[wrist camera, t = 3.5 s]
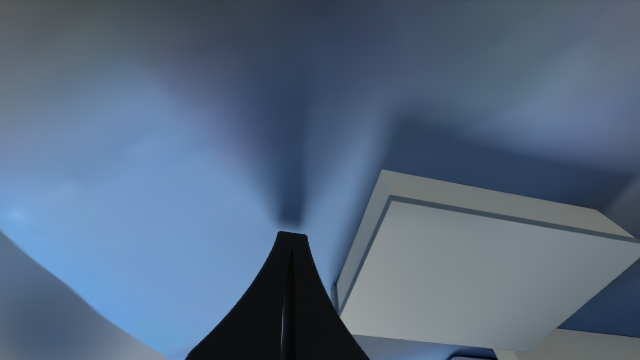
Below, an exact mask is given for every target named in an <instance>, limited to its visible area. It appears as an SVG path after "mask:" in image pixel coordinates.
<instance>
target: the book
mask: <svg viewBox="0 0 640 360" xmlns="http://www.w3.org/2000/svg"><path fill="white" fill-rule="evenodd" d="M639 258H640V239H638V238H635V237H633V236H632V235H630V234H629V233H628V232H626V231H625V230H624V229H622V228H621V227H619V226H618V225H617V224H615V223H614V222H613V221H611V220H610V219H608V218H607V217H606V216H604V215H603V214H601V213H600V212H599V211H597V210H594V209H589V208H584V207H578V206H573V205H568V204H563V203H557V202H552V201H547V200H541V199H536V198H531V197H525V196H520V195H515V194H510V193H504V192H499V191H494V190H488V189H483V188H478V187H472V186H467V185H462V184H456V183H451V182H446V181H441V180H435V179H430V178H425V177H419V176H414V175H409V174H403V173H398V172H393V171H388V170H381V173H380V175H379V178H378V180H377V183H376V185H375V188H374V190H373V193H372V195H371V198H370V201H369V203H368V206H367V208H366V211H365V213H364V216H363V218H362V221H361V224H360V226H359V229H358V231H357V234H356V236H355V239H354V241H353V244H352V246H351V249H350V252H349V254H348V257H347V259H346V262H345V264H344V267H343V269H342V272H341V275H340V277H339V280H338V282H337V285H333V286H332V289H331V302H332V304H333V306H334V308H335V310H336V311H337V313H338V315H339V316H340V318H341V320H342V321H343V323H344V324H345V326H346V327H347V329H348V330H349V332H350V333H351V334H356V335H366V336H376V337H385V338H395V339H405V340H414V341H424V342H434V343H444V344H453V345H463V346H473V347H482V348H492V349H502V350H511V351H521V352H529V351H530V350H531V349H532V348H533V347H534V346H536V345H537V344H538V343H539V342H540V341H542V340H543V339H544V338H545V337H546V336H548V335H549V334H550V333H551V332H552V331H553V330H555V329H556V328H557V327H558V326H559V325H561V324H562V323H563V322H564V321H565V320H566V319H568V318H569V317H570V316H571V315H572V314H574V313H575V312H576V311H577V310H578V309H580V308H581V307H582V306H583V305H584V304H585V303H587V302H588V301H589V300H590V299H591V298H593V297H594V296H595V295H596V294H597V293H599V292H600V291H601V290H602V289H603V288H604V287H606V286H607V285H608V284H609V283H610V282H612V281H613V280H614V279H615V278H616V277H618V276H619V275H620V274H621V273H622V272H623V271H625V270H626V269H627V268H628V267H629V266H631V265H632V264H633V263H634V262H635V261H636V260H638V259H639Z"/></svg>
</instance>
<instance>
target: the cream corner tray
mask: <svg viewBox="0 0 640 360" xmlns="http://www.w3.org/2000/svg"><path fill="white" fill-rule="evenodd" d="M493 350H494V352H495V354H496V356H497V358H498V360H640V338H635V337H626V336H617V335H609V334H600V333H592V332H583V331H575V330H566V329H557V328H556V329H555V330H553V331H552V332H551V333H550V334H549V335H548V336H546V337H545V338H544V339H543V340H542V341H540V342H539V343H538V344H537V345H536V346H534V347H533V348H532V349H531V350H530V351H529V352H521V351H511V350H502V349H493Z"/></svg>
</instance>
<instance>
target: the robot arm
mask: <svg viewBox="0 0 640 360" xmlns="http://www.w3.org/2000/svg"><path fill="white" fill-rule="evenodd" d="M282 316H283V334H282ZM281 334H282V345H281ZM185 360H370V359H369V358H368V356H367V355H366V354H365V353H364V351H363V350H362V349H361V347H360V346H359V345H358V343H357V342H356V341H355V339H354V338H353V336H352V335H351V333H350V332H349V330H348V329H347V327H346V326H345V324H344V323H343V321H342V320H341V318H340V316H339V315H338V313H337V311H336V310H335V308H334V306H333V304H332V302H331V300H330V298H329V296H328V294H327V292H326V290H325V288H324V286H323V284H322V281H321V279H320V277H319V274H318V271H317V269H316V266H315V263H314V260H313V257H312V254H311V251H310V247H309V243H308V237H307V236H306V235H305V234H298V233H291V232H284V231H279V232H278V233H277V238H276V241H275V243H274V246H273V248H272V250H271V252H270V254H269V256H268V258H267V260H266V262H265V263H264V265H263V267H262V268H261V270H260V272H259V273H258V275H257V276H256V278H255V279H254V281H253V282H252V284H251V285H250V287H249V288H248V289H247V291H246V292H245V293H244V295H243V296H242V297H241V299H240V300H239V301H238V302H237V303H236V305H235V306H234V307H233V308H232V310H231V311H230V312H229V313H228V314H227V315H226V316H225V317H224V318H223V320H222V321H221V322H220V323H219V324H218V325H217V326H216V327H215V328H214V329H213V330H212V331H211V332H210V333H209V334H208V335H207V336H206V337H205V338H204V339H203V340H202V341H201V342H200V343H199V344H198V345H197V346H196V347H195V348H193V349H192V350H191V351H190V353H189V354H188V356H187V357H186V359H185ZM451 360H489V359H478V358H468V357H454V358H452V359H451Z"/></svg>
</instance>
